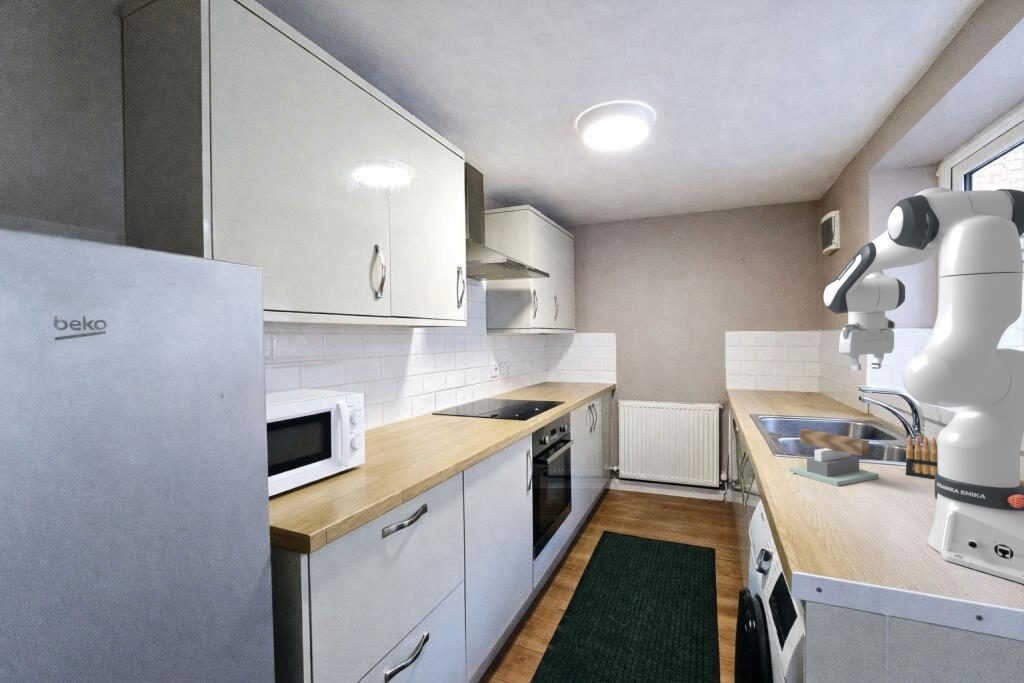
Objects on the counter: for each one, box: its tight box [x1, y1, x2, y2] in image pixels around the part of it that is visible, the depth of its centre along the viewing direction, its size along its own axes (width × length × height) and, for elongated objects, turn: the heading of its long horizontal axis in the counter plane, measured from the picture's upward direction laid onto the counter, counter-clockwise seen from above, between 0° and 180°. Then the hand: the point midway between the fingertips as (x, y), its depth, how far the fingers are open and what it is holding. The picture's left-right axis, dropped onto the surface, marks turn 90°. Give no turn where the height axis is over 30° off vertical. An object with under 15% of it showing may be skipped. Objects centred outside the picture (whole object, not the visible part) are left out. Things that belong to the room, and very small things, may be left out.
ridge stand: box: [789, 448, 879, 487], centre depth 136 cm, size 14×18×8 cm
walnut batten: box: [799, 428, 870, 457], centre depth 136 cm, size 18×3×4 cm, turn 21°
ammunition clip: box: [905, 434, 938, 480], centre depth 132 cm, size 11×2×12 cm, turn 45°
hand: (866, 369), depth 138 cm, fingers open, 8 cm apart
